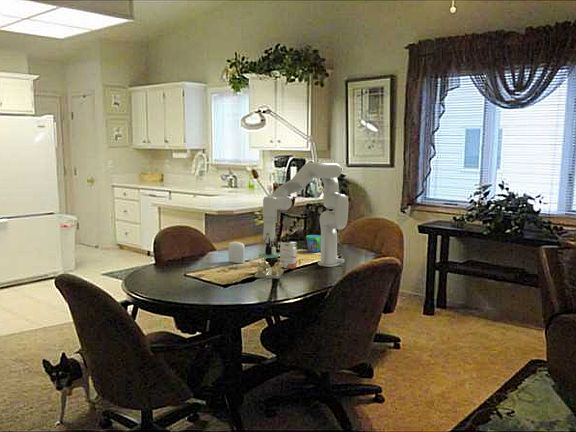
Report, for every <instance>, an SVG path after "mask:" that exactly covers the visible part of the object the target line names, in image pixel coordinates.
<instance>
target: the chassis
mask: <svg viewBox="0 0 576 432" xmlns="http://www.w3.org/2000/svg"><path fill="white" fill-rule="evenodd" d="M268 266H269V262H268V261H266V259H263V261H261V262H260V263H259V265H257V267H256V271H257V272H256V273H255V274H254V278H265V279H268V278H269V279H280V278H281V276H282V275H283V273H285V271H284V268H282V263H281V262H280V259H277V262H275V263H274V265H273V266H271V268H269V267H268Z"/></svg>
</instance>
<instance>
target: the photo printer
mask: <svg viewBox="0 0 576 432" xmlns="http://www.w3.org/2000/svg"><path fill="white" fill-rule="evenodd" d="M227 247H228V249H227V250H228V262H229V263H236V264H245V262H246V261H245V260H246V259H245V258H246V255H245V252H246V250H245V248H246V247H245V243H243V242H240V241H231V242H229V243H228V246H227Z"/></svg>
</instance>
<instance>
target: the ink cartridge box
mask: <svg viewBox="0 0 576 432" xmlns="http://www.w3.org/2000/svg"><path fill="white" fill-rule="evenodd" d="M279 245H280V246H279V247H280V248H279V253H280V255H279V262H281V263H282V267H284V268H283V269H289V268H290V270H294V269H296V268H297V247H295V246H294V244H293V243H291V242H283V241H281V242H280V244H279Z"/></svg>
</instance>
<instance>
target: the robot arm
mask: <svg viewBox="0 0 576 432" xmlns="http://www.w3.org/2000/svg"><path fill="white" fill-rule="evenodd" d="M341 174H342V167H341V165H340V164H339V163H336V162H327V161H326V162H324V161H322V162H307V163H306V162H305V164H304V165H303V166H302V167H301V168H300V169H299V170H298V171H297V173H296V174H295V175H294V176H293V177H292V178H291V179H290V180H288V181H286V182H285V183H283V184H281V185H279V187H277V188H276V189H275V190H274V191H273V193H271V195H270V196H269V195H268V196H264V197H263V198H262V199H263V200H262V223H263V232H262V233H263V234H262V241H263V242H265V246H266V251H265V254H272V247H274V240H275V239H276V223H278V210H279V211H287V210H289V209H290V208H292V206H293V201H292V199H291V197H289V196H290V195H291V194H296V193H298V192H301V191H303V190H304V189H305V188H306V187H307V185H308V184H309V183H310V182H312V180H313V179H321V180H322V183H323V196H322V197H323V199H322V202H323V207H325V208H326V209H330V210H325V211H323V212H322V213H321V214H320V216H319V226H320V236H321V247H320V260H319V261H317V264H318V266H320V267H326V268H327V267H329V268H330V267H331V268H332V267H338V266H340V263H345V258H339V257H338V231H337V230H343V229H345V228H346V226H347V224H348V218H349V203H350V202H349V199H348V197H347V196H346V194H344V193H343V194H342V193H340V192H339V191H340V189H339V180H338V178H339V177H340V176H341ZM332 210H334V211H332Z"/></svg>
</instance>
